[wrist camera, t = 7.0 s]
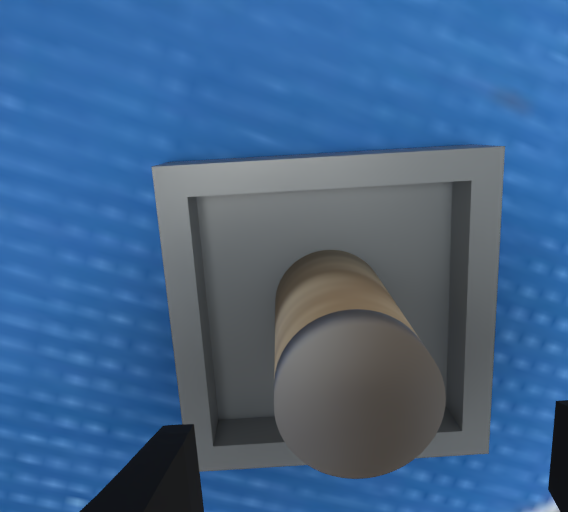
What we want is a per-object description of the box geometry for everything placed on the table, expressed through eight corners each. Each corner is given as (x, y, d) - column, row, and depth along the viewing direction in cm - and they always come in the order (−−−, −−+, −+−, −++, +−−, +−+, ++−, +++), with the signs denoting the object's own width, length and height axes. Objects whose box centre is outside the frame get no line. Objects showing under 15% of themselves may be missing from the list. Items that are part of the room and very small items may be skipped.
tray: (198, 431, 20) (188, 472, 18) (168, 162, 18) (151, 166, 15) (462, 415, 20) (488, 453, 18) (472, 144, 18) (504, 146, 15)
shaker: (280, 356, 19) (281, 485, 12) (270, 254, 18) (266, 333, 11) (385, 346, 19) (446, 471, 12) (381, 244, 18) (445, 317, 11)
